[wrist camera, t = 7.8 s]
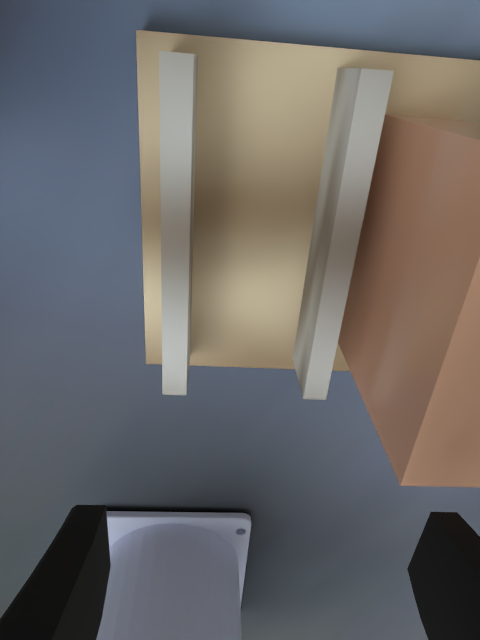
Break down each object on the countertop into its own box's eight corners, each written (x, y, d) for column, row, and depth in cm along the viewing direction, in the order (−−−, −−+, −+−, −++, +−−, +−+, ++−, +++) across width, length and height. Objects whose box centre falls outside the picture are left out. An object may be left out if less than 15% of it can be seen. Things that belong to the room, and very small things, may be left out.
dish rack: (544, 365, 20) (604, 419, 17) (149, 349, 19) (135, 405, 16) (679, 80, 15) (803, 83, 12) (141, 32, 13) (118, 21, 10)
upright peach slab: (397, 342, 18) (491, 487, 12) (336, 340, 18) (400, 485, 11) (460, 119, 14) (650, 160, 8) (383, 113, 14) (516, 150, 8)
